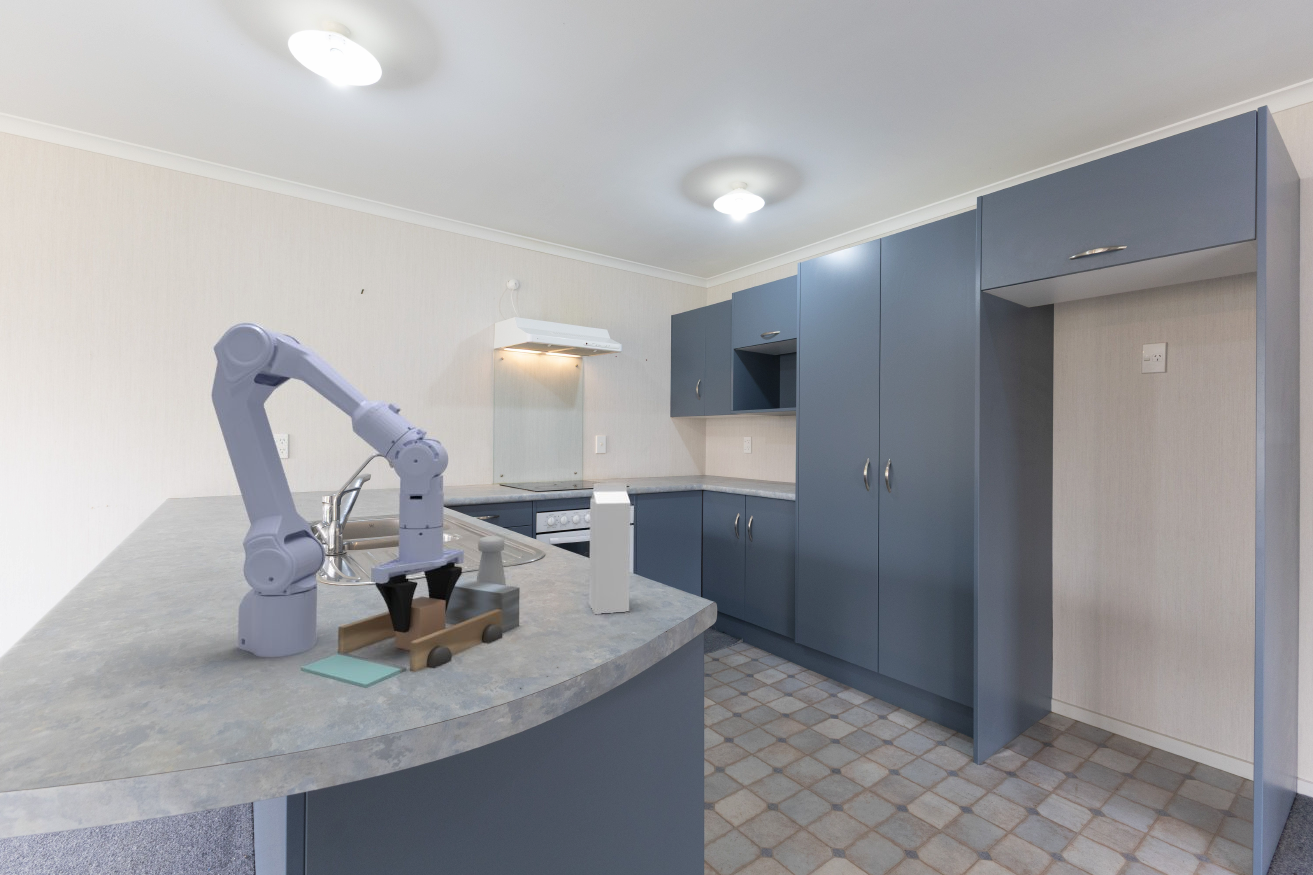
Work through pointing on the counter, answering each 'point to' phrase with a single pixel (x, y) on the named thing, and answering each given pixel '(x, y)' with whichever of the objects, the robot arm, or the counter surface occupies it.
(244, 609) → the robot arm
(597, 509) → the milk
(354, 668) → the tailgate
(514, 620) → the flatbed
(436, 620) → the tan rectangular block
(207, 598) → the counter surface
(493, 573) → the salt shaker
